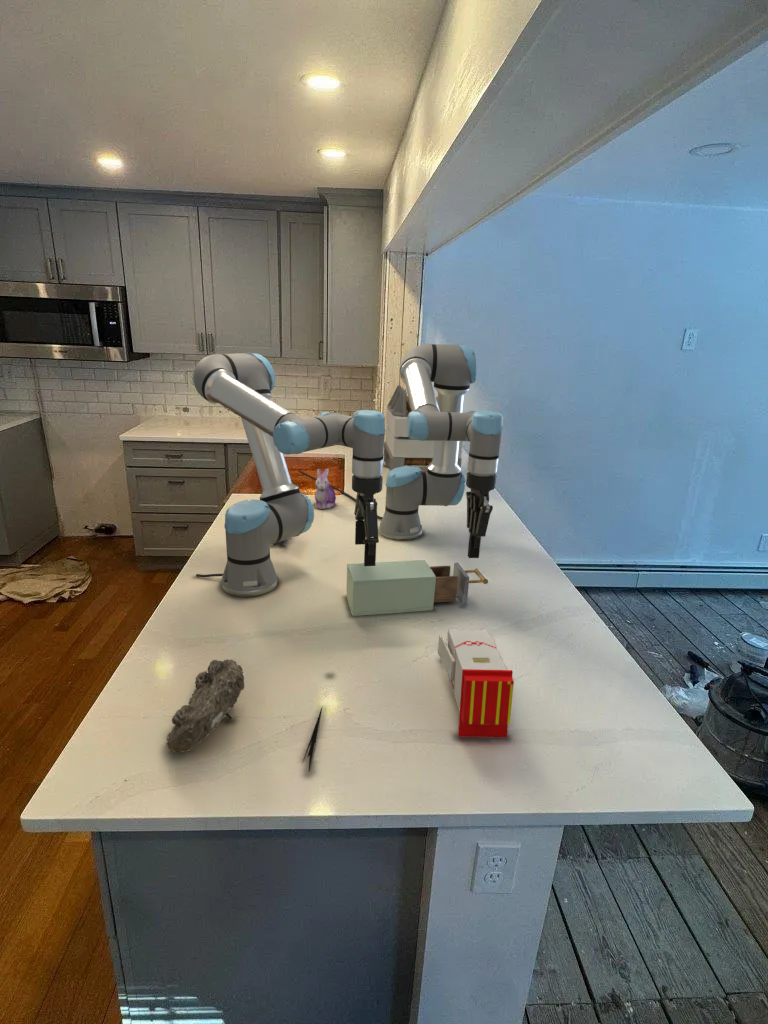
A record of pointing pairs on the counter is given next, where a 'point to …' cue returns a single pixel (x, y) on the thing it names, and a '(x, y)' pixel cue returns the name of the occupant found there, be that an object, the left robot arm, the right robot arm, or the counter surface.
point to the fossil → (206, 705)
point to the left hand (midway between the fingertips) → (364, 554)
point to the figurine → (324, 491)
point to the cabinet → (390, 587)
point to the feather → (313, 740)
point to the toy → (478, 682)
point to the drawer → (454, 583)
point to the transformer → (405, 436)
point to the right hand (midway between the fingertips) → (473, 556)
